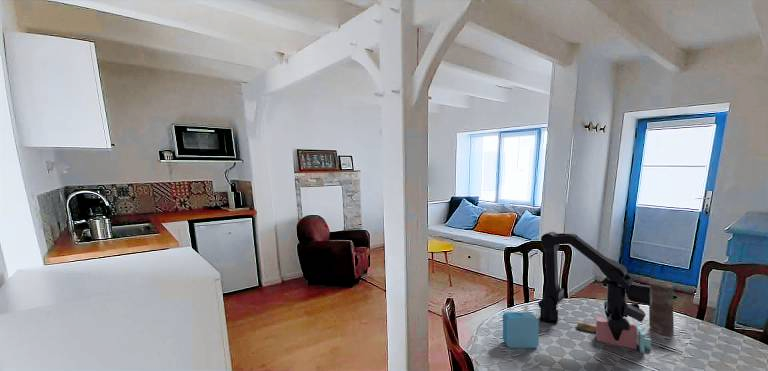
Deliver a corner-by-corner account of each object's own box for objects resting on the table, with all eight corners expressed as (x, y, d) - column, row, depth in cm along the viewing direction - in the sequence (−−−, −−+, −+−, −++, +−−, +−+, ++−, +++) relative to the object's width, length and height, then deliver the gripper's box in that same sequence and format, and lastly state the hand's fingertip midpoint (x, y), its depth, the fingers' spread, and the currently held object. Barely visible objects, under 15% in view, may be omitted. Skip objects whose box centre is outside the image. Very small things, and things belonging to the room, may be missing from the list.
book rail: (577, 328, 126) (577, 322, 125) (577, 326, 127) (577, 320, 127) (632, 340, 116) (632, 334, 116) (631, 338, 118) (631, 332, 117)
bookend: (640, 352, 108) (640, 334, 108) (635, 341, 115) (636, 323, 115) (653, 355, 106) (653, 336, 106) (648, 344, 113) (648, 326, 113)
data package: (533, 341, 117) (533, 311, 117) (538, 348, 113) (538, 317, 112) (502, 341, 118) (502, 312, 117) (507, 348, 113) (506, 317, 113)
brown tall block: (644, 328, 124) (645, 281, 123) (654, 324, 127) (655, 278, 126) (667, 337, 117) (668, 288, 116) (677, 333, 120) (678, 284, 119)
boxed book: (596, 340, 117) (597, 320, 116) (596, 335, 120) (596, 316, 120) (636, 349, 110) (636, 328, 110) (634, 344, 114) (634, 324, 113)
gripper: (648, 311, 102) (648, 355, 103) (638, 292, 118) (638, 330, 119) (608, 304, 108) (608, 346, 109) (603, 287, 124) (603, 323, 125)
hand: (615, 336), depth 115 cm, fingers open, 6 cm apart
